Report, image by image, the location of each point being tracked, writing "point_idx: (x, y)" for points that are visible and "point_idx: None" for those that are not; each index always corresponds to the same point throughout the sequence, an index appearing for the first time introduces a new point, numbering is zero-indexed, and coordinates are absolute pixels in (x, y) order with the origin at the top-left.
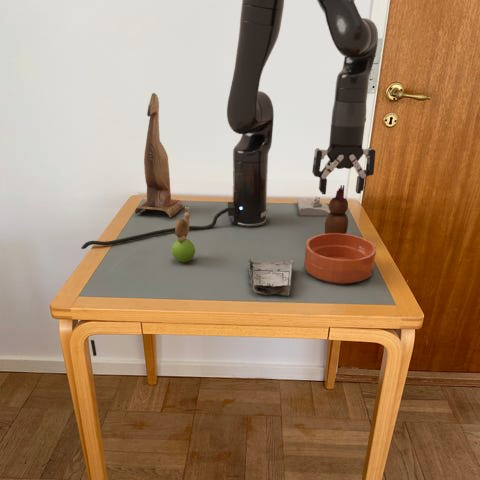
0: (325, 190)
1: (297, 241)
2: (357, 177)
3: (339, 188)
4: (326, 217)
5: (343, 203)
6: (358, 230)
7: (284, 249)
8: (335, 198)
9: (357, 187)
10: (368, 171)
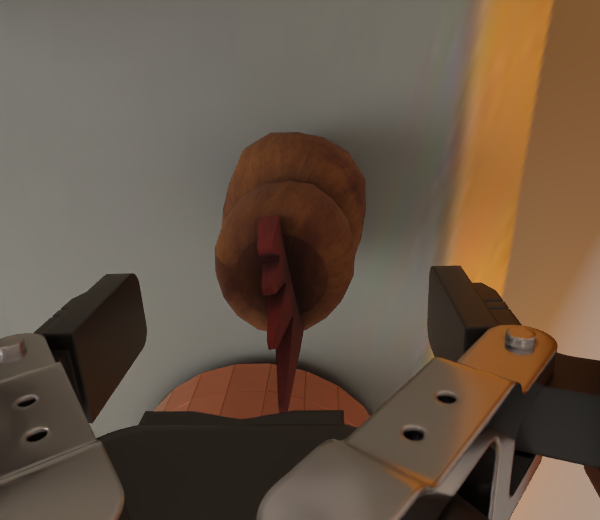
0: (130, 361)
1: (112, 194)
2: (461, 334)
3: (269, 288)
4: (223, 221)
5: (306, 327)
6: (473, 27)
7: (57, 284)
8: (249, 278)
9: (438, 327)
10: (594, 474)
